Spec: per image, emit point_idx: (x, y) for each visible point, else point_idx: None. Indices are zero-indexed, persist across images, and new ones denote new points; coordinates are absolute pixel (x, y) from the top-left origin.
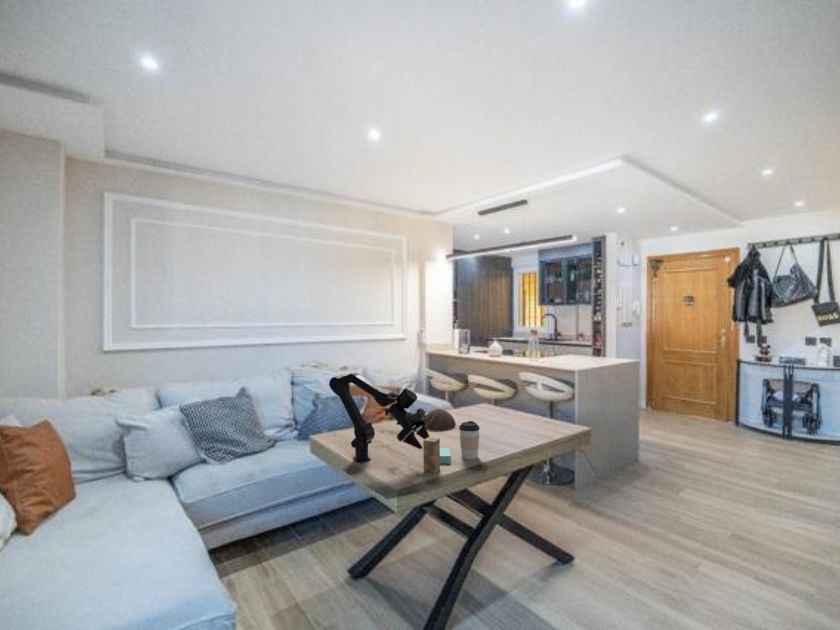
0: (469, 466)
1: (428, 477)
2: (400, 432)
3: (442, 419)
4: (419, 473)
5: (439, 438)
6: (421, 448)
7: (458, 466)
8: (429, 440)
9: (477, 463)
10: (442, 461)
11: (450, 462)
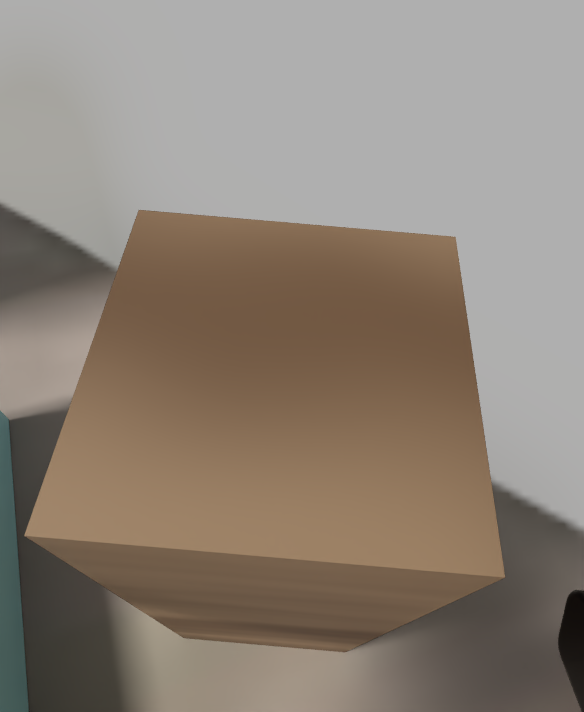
0: (88, 258)
1: None
2: None
3: None
4: (432, 685)
5: (142, 212)
6: (571, 618)
7: None
8: (417, 376)
9: (7, 221)
10: (5, 499)
11: (6, 417)
